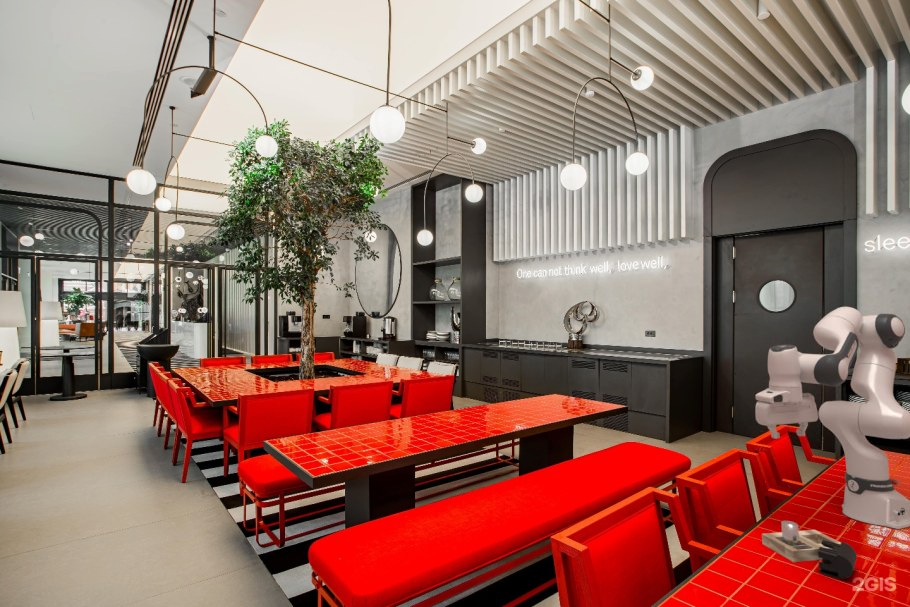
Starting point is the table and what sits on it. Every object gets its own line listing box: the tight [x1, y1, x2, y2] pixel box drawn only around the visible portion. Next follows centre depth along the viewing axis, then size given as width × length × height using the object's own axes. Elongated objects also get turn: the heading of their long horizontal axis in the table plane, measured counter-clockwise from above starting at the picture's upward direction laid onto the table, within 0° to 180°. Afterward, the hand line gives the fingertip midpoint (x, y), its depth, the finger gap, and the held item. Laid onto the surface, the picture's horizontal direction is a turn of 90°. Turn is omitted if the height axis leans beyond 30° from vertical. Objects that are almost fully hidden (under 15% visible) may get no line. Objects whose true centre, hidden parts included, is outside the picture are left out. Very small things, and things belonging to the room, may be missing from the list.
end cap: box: [818, 540, 858, 580], centre depth 125 cm, size 10×7×7 cm
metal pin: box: [780, 520, 799, 546], centre depth 136 cm, size 4×4×8 cm
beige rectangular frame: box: [761, 529, 841, 563], centre depth 137 cm, size 18×11×3 cm, turn 98°
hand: (788, 436), depth 152 cm, fingers open, 8 cm apart
